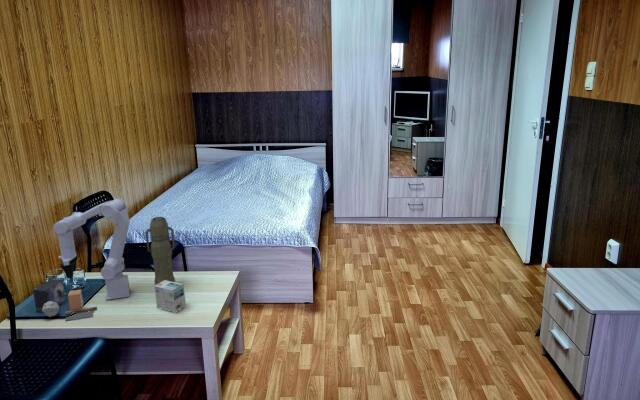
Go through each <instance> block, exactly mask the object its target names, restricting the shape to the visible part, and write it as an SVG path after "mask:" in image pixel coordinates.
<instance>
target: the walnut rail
mask: <svg viewBox="0 0 640 400" xmlns="http://www.w3.org/2000/svg"><path fill="white" fill-rule="evenodd" d="M95 310H97V311H98V306H93V307H92V306H91V307H86V308H83V309H78V310H71V311H70V310H66V311H65V312H64V315H65V314H68V313H72V312H76V313H77V314H78V313H82V312H84V313H85V312H88V311H90V312H91V311H94V312H95Z"/></svg>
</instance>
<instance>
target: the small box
mask: <svg viewBox="0 0 640 400" xmlns="http://www.w3.org/2000/svg"><path fill="white" fill-rule="evenodd" d="M32 292H33V298H34V303H35V304H34V305H35V311H36V312H38V311H39V313H44V312H43V311H42V309H43V306H44V304H45V303H47V302H48V301H52V302H56V303H57V304H58V305H60V306H62V303H63V304H64V303H66V302H67V300H66V293H65V287H64V281H63V280H60V279H49V280H48V281H45V282H43V283H41V284H39V285H38V286H36V287H35V288H32Z"/></svg>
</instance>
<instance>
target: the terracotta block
mask: <svg viewBox="0 0 640 400" xmlns="http://www.w3.org/2000/svg"><path fill="white" fill-rule="evenodd" d="M67 299H68V304H69V311H71V310H78V309H84V307H83V305H84V299H83V294H82V289H76V290H69V292H68V294H67Z"/></svg>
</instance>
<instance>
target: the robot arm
mask: <svg viewBox="0 0 640 400" xmlns="http://www.w3.org/2000/svg"><path fill="white" fill-rule="evenodd" d="M97 215H99V216H100V217H102V216H103V217H105V218H106V220H109V222H111V223H112V224H114V230H113V235H112V238H111V239H112V240H111V244H110V248H109V254H108V257H107V259H106V260H105V262H104V266H103V267H101V269H100V275H101V277H102V278H103V279H104V281H105V287H106V288H105V289H106V297H105V300H107V301H108V300H115V299H122V298H127V297H130V292H131V287H130V281H129V275H128V274H123V273H124V272H123V271H124V270H125V267H126V265H125V262H124V261H125V258H124V257H123V254H124V251H125V250H124V249H125V245H126V240H127V237H128V235H127V234H128V232H129V226H130V218H129V212H128V205H127V203H126V202H125V201H124V200H123V199H121V198H114V199H113V200H108V201H105V202H103V203H100V204H98V205H96V206H93V207H92V208H90V209H89V210H85V212H80V211H78V212H76V211H74V212H72V213H71V215H69V216H65V217H63V218H62V220H59V221H56V222H55V223H54V224H53V227H52V228H53V231H54V233H55V234H57V239H58V245H59V246H58V247H59V251H60V252H59V253H60V255H58V257H57V258H58V259H61V260H62V263H60V265H59V267H60V268H61V269H62V270H63V272H64V275H65V277H66V278H67V279H73V278H74V272H76V270H77V260H78V257H79V254H78V253H76V247H75V240H74V235H73V234H74V230H75V229H77V228H79V227H81V226H83V225H85V224H86V222H87V220H88V219H91V218H93V217H95V216H97Z"/></svg>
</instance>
